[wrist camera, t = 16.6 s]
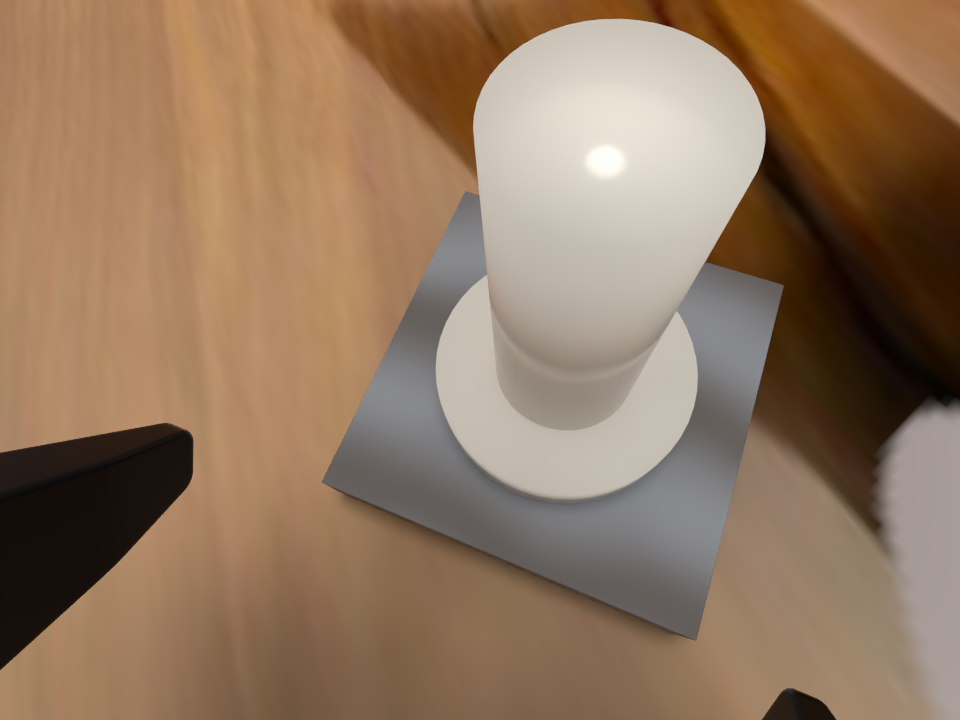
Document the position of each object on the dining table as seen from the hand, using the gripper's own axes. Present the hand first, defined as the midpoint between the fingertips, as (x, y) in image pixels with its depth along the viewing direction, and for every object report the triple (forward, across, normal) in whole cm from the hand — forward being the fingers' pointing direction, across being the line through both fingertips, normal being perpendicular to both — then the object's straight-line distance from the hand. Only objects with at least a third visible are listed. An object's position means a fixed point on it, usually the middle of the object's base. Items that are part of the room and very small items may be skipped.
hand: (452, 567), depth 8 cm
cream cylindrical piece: (+13, 0, +3) cm, 13 cm away
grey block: (+15, 0, +4) cm, 15 cm away
